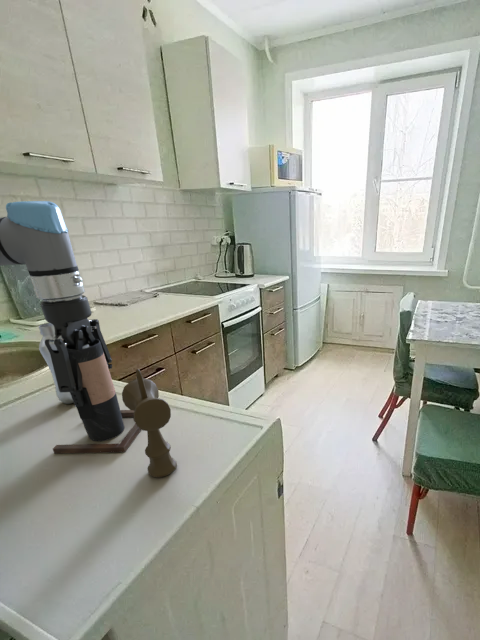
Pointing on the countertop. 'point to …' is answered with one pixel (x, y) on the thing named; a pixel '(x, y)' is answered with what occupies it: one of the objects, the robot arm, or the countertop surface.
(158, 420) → the kendama
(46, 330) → the plastic bottle
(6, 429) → the countertop surface
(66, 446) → the frame
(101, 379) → the travel mug
